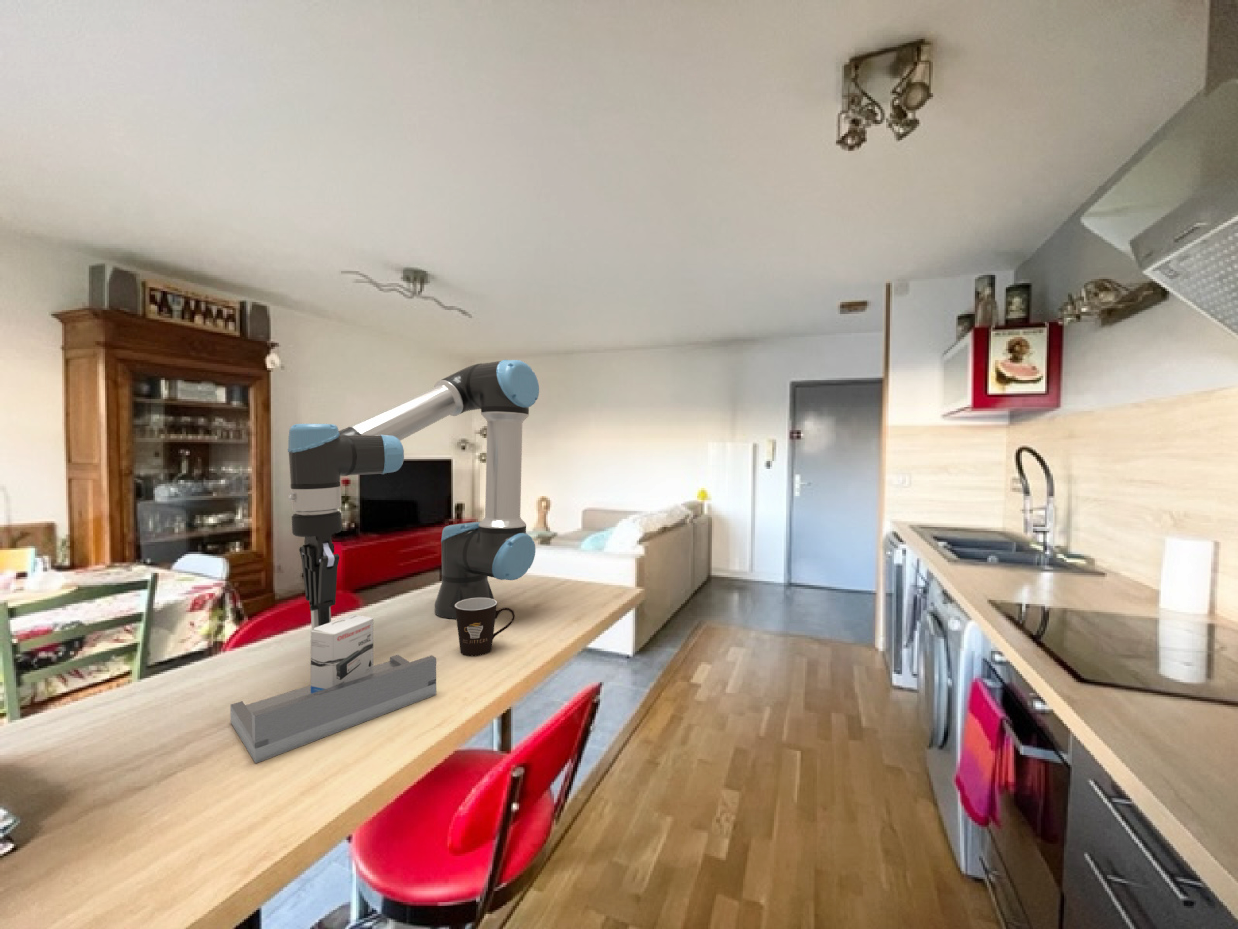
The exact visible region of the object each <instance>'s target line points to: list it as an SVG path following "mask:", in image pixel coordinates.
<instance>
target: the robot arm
mask: <svg viewBox="0 0 1238 929" xmlns="http://www.w3.org/2000/svg"><path fill="white" fill-rule="evenodd" d="M539 395H540V385H539V380H538V376H537V375H536V374H535V372H534V371H533V369H532V368H531V366H529V364H528V363H526V362H525V361H522V360H519V359H503V360H498V361H492V362H483V363H482V362H481V363H476V364H472V365H470V366H467V367H465V368H462V369H460V370H457V371H456V372H453V373H452V374H450V375H448V376H446V377H444V378H442V379H439V380H437V381H436V382H435V384H434V386H433V387H432V388H430V389H428V390H425V391H424V392H422V393H419V394H417V395H414V396H413V397H410V398H408V399H406V400H404V401H402V402H400V403H397V404H396V405H393V406H391V407H389V408H386V409H385V410H382V411H380V412H378V413H376V414H373V415H371V416H369V417H367V418H365V419H363V420H360V421H358V422H356V423H354V424H351V425H349V426H348V427H345V428H342V429H341V430H339V427H338V425H336V424H334V423H295V424H293V425H291V426H290V428H289V431H288V441H287V442H288V443H287V447H288V448H287V453H288V460H289V477H290V492H291V494H288V495H287V496H286V497H287V500H288V501H291V504H290V505H291V510H292V512H294V514H292V516H291V534H292V535H293V536H295V537H299V538H304V544H303V545H302V546H299V548H298V551H299V554H300V557H301V558H300V559H301V567H302V575H303V583H304V591H305V600H306V602H308V603H309V611H310V619H311V621H310V622H311V623H310V625H311V631H312V630H313V629H314V628H316V627H318V626H321V625H324V624H327V623H330V622H332V612H331V611H332V610H331V607H332V606H335V605H336V602H337V601H336V598H337V581H338V580H337V579H338V565H339V563H340V554H339V553H335V545H334V543H333V541H332V535H334V534H338V533H340V532H341V531H342V529H343V523H342V512H341V511H340V510H339V509H341V508H342V486H341V477H346V476H347V477H348V476H360V475H377V474H378V475H379V474H381V475H385V474H387V473H388V474H390V473H394V472H395V473H396V472H397V471H399V470H400V469H401V468H402V466H403V463H404V459H405V448H404V446H403V444H402V442H401V441H402V440H404V439H406V438H408V437H410V436H411V435H412V436H413V434H415V433H418V432H419V431H421V430H423V429H425V428H428V427H429V426H431V425H433V424H435V423H437V422H439V421H441V420H443V419H444V418H447V417H449V416H450V417H451V416H453V417H457V416H460V415H461V414H464V413H466V412H469V411H475V410H480V414H481V416H482V417H483V418H484V419H485V420H486V421H487V422H486V455H485V457H486V458H485V459H486V463H485V465H486V466H485V467H486V468H485V470H486V472H485V506H484V507H485V508H484V512H485V514H484V517H483V519H482V520H481V521H473V522H465V523H457V524H450V525H447V526H444V527H443V528H442V531H441V539H440V543H441V545H440V546H441V547H440V548H441V584H440V587H439V591H438V594H437V595H436V600H435V603H434V614H435V613H436V614H435V615H436V616H438V617H440V616H441V617H440V618H446V619H453V620H455V619H456V611H455V604H456V603H457V602H459V601H462V600H465V599H470V598H491V599H494V600H495V597H494V595H493V591H492V588H491V586H490V582H489V577H490V578H494V579H496V580H501V581H503V580H505V581H516V580H518V579H520V578H522V577H523V576H524V575H525V574H526V573H527V572H528V571H529V569H530V568H531V567H532V565H533V562H534V560H535V557H536V549H537V548H536V543H535V541H534V540H533V537H531V536H530V534H528V533H527V523H526V522H525V521H524V520H523V519H522V517H521V507H522V506H521V504H522V503H521V499H522V498H521V497H522V496H521V494H522V460H523V458H522V454H523V446H522V445H523V423H524V421H525V420H527V419H528V417H529V416H530V415H529V414H530V407H533V405H535V404H536V401H537V400H538V399H539ZM334 553H335V554H334Z"/></svg>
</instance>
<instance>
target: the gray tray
mask: <svg viewBox="0 0 1238 929" xmlns="http://www.w3.org/2000/svg"><path fill="white" fill-rule="evenodd" d="M436 695H437V657H435V656H434V655H429V656H425V657H422V658H419V659H416V660H415V659H414V660H412V661H409V660H407V659H405V658H404V657H402V656H401V655H399V654H395V655H391V656H389V661H386V662H382V663H379V664H376V665H373V674H371V675H368V676H365V677H362V678H359V679H355V680H352V681H349V682H346V683H343V684H340V685H337V686H333V687H330V688H327V689H324V690H321V691H318V692H314V693H311V684H310V685H306V686H303V687H300V688H296V689H294V690H291V691H287V692H283V693H281V694H277V695H275V696H271V697H268V698H265V699H261V700H257V701H254V702H252V703H249V704H245V703H244V701H238V702H234V703H231V704H230V706H229V708H230V724H231V725H232V727H233V729H234V730H235V732H236V734H237V736H238V737H239V738H240V740H241V742H242V743H243V745H244V747H245V749H246V751H247V752H248V754H249V756H250V757H251V759H252V760H253V762H254V764H258V763H261V762H263V761H266V760H268V759H271V758H273V757H276V756H279V755H281V754H284V753H287V752H289V751H292V750H295V749H298V748H300V747H302V746H305V745H308V744H310V743H313V742H316V741H318V740H322V739H325V737H328V736H331V735H334V734H337V733H339V732H341V731H345V730H348V729H351V728H353V727H355V726H358V725H361V724H363V723H365V722H368V721H371V720H373V719H376V718H379V717H381V716H384V715H386V714H389V713H392V712H394V711H397V710H400V709H403V708H405V707H409V705H412V704H415V703H418V702H421V701H423V700H426V699H428V698H430V697H434V696H436Z"/></svg>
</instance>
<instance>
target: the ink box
mask: <svg viewBox="0 0 1238 929" xmlns="http://www.w3.org/2000/svg"><path fill="white" fill-rule="evenodd" d="M373 666H374V618H373V617H369V616H368V617H367V616H363V615H358V614H349V615H347V616H344V617H342V618H339V619H335V620H331V622H330V623H327V624H324V625H321V626H318V627H316V628H314V629H313V630H312V629H311V631H310V685H311V693H314V692H318V691H321V690H324V689H327V688H330V687H333V686H337V685H340V684H343V683H346V682H349V681H352V680H355V679H359V678H362V677H365V676H368V675H371V674H373Z"/></svg>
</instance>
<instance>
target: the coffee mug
mask: <svg viewBox="0 0 1238 929" xmlns="http://www.w3.org/2000/svg"><path fill="white" fill-rule="evenodd" d="M497 608H498V601H497V600H496V599H495V598H494V599H491V598H470V599H465V600H462V601H459V602H457V603H456V604H455V611H456V628H457V635H458V642H459V650H460V654H461V655H462V656H466V657H479V656H483V655H487V654H489V653H491V652H492V648H493V641H494V639H495V637H496V636H498V635H499V634H500V633H502V632H504V631H506V629H508V628H509V627H510V626H511V625H512V624H513V622H514V621H515V618H516V615H515V612H514V610H513V609H512V608H510V607H501V608H499V609H497ZM503 611H508V612H510V613H511V615H512V618H511V619H510V621H509V622H508V623H507V624H506V625H505V626H504V627H502V628H500V629H499V630H498V631H496V632H495V625H496V624H495V623H496V619H497V618H498V617H499V615H500V613H501V612H503Z"/></svg>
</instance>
